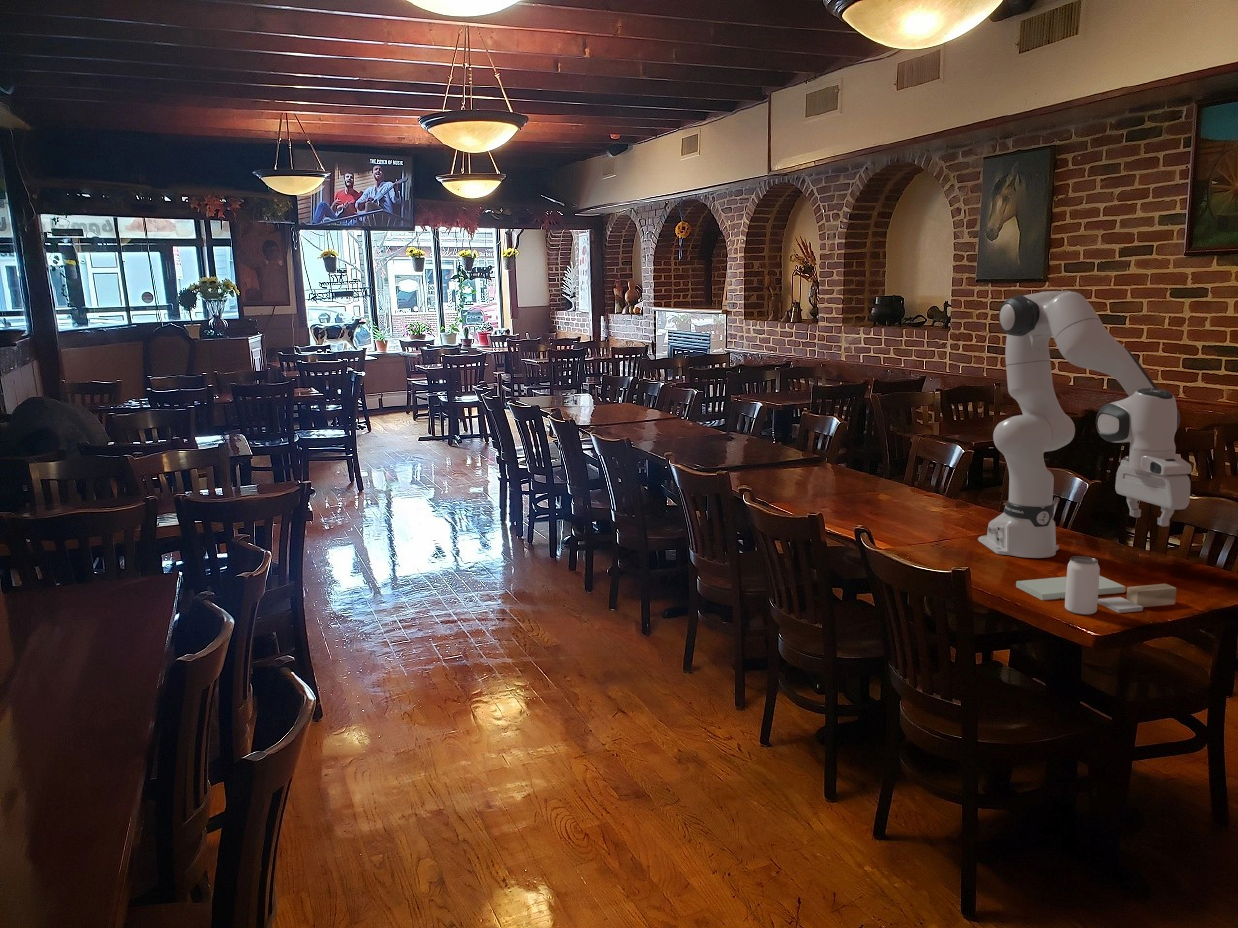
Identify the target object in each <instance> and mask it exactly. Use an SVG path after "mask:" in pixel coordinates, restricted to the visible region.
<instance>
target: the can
mask: <svg viewBox="0 0 1238 928" xmlns="http://www.w3.org/2000/svg"><path fill="white" fill-rule="evenodd" d="M1098 563H1099V560H1098V559H1096V558H1093V557H1090V556H1084V555H1083V556H1080V555H1077V556H1075V555H1074V556H1071V557H1069V562H1068V563H1067V569H1066V577H1067V580H1066V595H1065V598H1064V609H1065V610H1066V611H1067V612H1069V613H1072V614H1075V615H1080V616H1081V615H1082V616H1089V615H1094V614H1095V613H1097V611H1098V603H1097V602H1098V599H1099V595H1098V588H1099V575H1100V571H1101V568H1100V565H1099V564H1098Z"/></svg>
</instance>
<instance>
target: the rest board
mask: <svg viewBox="0 0 1238 928" xmlns="http://www.w3.org/2000/svg"><path fill="white" fill-rule="evenodd" d="M1066 580H1067V576H1060V577H1049V578H1037V579H1025V580H1024V579H1023V580H1016V581H1015V588H1017V589H1019V590H1021V591H1023V592H1025V593H1027V594H1028V595H1031V596H1033V597H1035V598H1037V599H1039V600H1041V601H1049V600H1058V599H1060V598H1061V599H1065V595H1066ZM1124 593H1126V586H1125V585H1122V584H1121V583H1118V582H1116V581H1114V580H1111V579H1109V578H1107V577H1104V576H1102V575H1100V574H1099V588H1098V596H1101V595H1112V594H1124ZM1061 599H1060V600H1061Z"/></svg>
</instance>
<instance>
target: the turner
mask: <svg viewBox="0 0 1238 928" xmlns="http://www.w3.org/2000/svg"><path fill="white" fill-rule="evenodd" d="M1126 588H1127V589H1126V598H1124V597H1121V596H1114V597H1105V598H1098V602H1097V604H1099V605H1101V606H1102V607H1105V608H1107V609H1110V610H1111V611H1113V612H1116V613H1117V614H1123V613H1132V612H1133V613H1134V612H1136V613H1137V612H1143V610H1144V608H1148V607H1149V608H1150V607H1160V606H1171V605H1176V598H1177V587H1175V586H1173V585H1170V584H1168V583H1159V584H1149V585H1148V584H1147V585H1136V586H1127V587H1126Z"/></svg>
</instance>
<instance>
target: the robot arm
mask: <svg viewBox="0 0 1238 928" xmlns="http://www.w3.org/2000/svg"><path fill="white" fill-rule="evenodd" d="M998 322H999V326H1000V327H1001V329H1002V331H1003V332H1004V333H1005V334H1006V338H1005V349H1004V350H1005V351H1004V353H1005V355H1004V357H1005V359H1004V360H1005V369H1006V370H1005V371H1006V382H1007V391H1008V395H1010V396H1011V398H1012V399H1014V400H1015V401H1016V402H1017V404H1018V406H1019V408H1020V411H1021V413H1022V414H1018V415H1014V416H1010V417H1008V418H1006V419H1004V420H1002V421H999V423H997V425H996V426H995V427H994V430H993V434H992V438H993V443H994V445H995V448H996V449H997V450H998V452H1000V453H1001V454H1002V456H1004V459H1005V462H1006V465H1007V470H1008V477H1009V480H1008V482H1009V483H1008V499H1007V500H1002V502H1003V504H1002V505H1003V506H1004V509H1003V512H1002V513H1001V514H999V515H998V516H996V517H995V518H993V519H991V520H990V521H989V522H988V524H987V525H988V526H987V534H985V535H981V536H979V537H978V538H977V541H978V542H979V543H981V544H982V545H984V546H985V547H986V548H987V549H989V550H991V551H992V552H994V553H995V554H997V555H1003V556H1004V555H1006V556H1014V557H1019V558H1027V559H1028V558H1031V559H1044V558H1051V557H1054V556H1055V555H1056V554H1057V551H1058V550H1059V549H1060V547H1059V545H1058V544H1057V538H1056V537H1057V534H1056V521H1055V520H1054V519H1053V517H1054V515H1055V514H1054V513H1055V505H1054V503H1053V501H1054V500H1053V499H1054V498H1053V497H1054V485H1055V483H1054V482H1055V481H1054V480H1055V478H1054V474H1053V473H1052V472H1051V470H1049V469H1048V468H1047V465H1046V462H1045V458H1044V453H1046V452H1053V451H1057V450H1059V449H1061V448H1063V447H1065V446H1067V445H1068V444H1070V443H1071V442H1072V441H1073V439H1074V438H1075V434H1076V427H1075V423H1074V421H1073V420H1072V418H1071V417H1070V416H1069V415H1068V414H1066V413H1065V411H1064V410H1063V408H1062V406H1061V405H1060V402H1059V400H1058V398H1057V395H1056V392H1055V388H1054V382H1053V374H1052V363H1051V355H1050V349H1049V348H1050V347H1049V344H1050V339H1051V338H1053V340H1054V342H1055V345H1056V347H1057V349H1058V351H1059V352H1060V354H1061V356H1062V357H1063V358H1064V360H1066V362H1068V363H1069V364H1071V365H1073V366H1075V367H1077V368H1082V369H1086V370H1092V371H1095V372H1099V373H1103V374H1105V375H1107V376H1109V377H1111V378H1113V379H1115V380H1116V381H1117V382H1118V383H1119V384H1120V386H1121V387H1122V389H1123V390H1124V392H1125V393H1126V394H1127V395H1128V397H1125V398H1123V399H1120V400H1116V401H1112V402H1110V403H1105V404H1104V405H1102V406H1101V408H1100V409H1099V410H1098V411H1097V414H1096V418H1095V428H1096V430H1097V433H1098V435H1099V436H1100V437H1101V438H1102V439H1103V440H1105V441H1106V442H1109V443H1114V444H1115V443H1116V444H1117V443H1119V444H1120V443H1129V455H1126V456H1124V457H1123V458H1122V459H1121V460H1120V465H1119V466H1118V468H1117V472H1116V477H1115V485H1114V487H1115V488H1114V489H1115V492H1116V494H1118V495H1121V496H1122V497H1123V496H1124V497H1126V504H1127V506H1128V509H1129V517H1133V518H1140V517H1141V516H1142V509H1140V507H1139V503H1138V502H1139V501H1140V502H1145V503H1149V504H1151V505H1155V506H1158V507H1160V512H1161V515H1160V517H1159V516H1158V517H1157V525H1158V526H1160V527H1169V526H1170V521H1171V518H1172V516H1173V515H1174V513H1175V510H1185V509H1187V508H1188V506H1189V504H1190V500H1191V479H1190V476H1188V475H1189V474H1191V473H1192V470H1193V469H1192V465H1191V464H1190V463H1189V462H1188V461H1186V460H1185V459H1184V458H1182V457H1181V456H1180V455H1178V454H1177V453H1176V451H1177V450H1176V449H1177V447H1176V442H1175V435H1176V432H1177V430H1178V428H1179V425H1180V423H1181V415H1180V411H1179V409H1178V407H1177V401H1176V398H1175V395H1174V393H1172V392H1171V391H1168V390H1165V389H1161V388H1159V387H1157V385H1156V384H1155V382H1154V381H1153V379H1152V377H1151V376H1150V375H1149V374H1148V372H1147V371H1146V369H1145V368H1144V367H1143V365H1142V364H1141V363H1140V361H1139V360H1138V359H1137V358H1136V356H1135V355H1134V354H1133V353H1132V352H1131V350H1129V349H1128V348H1127V347H1126V346H1124V345H1122V343H1120V342H1119V341H1118V340H1117V339H1116V338H1114V337H1113V336H1112V334H1111V333H1110V332H1109V331H1108V330H1107V328H1106V327H1105V325H1104V324H1103V322H1102V319H1100V317H1099V315H1098V313H1097V312H1096V310H1095V309H1094V307H1093V306H1092V305H1091V303H1090V302H1089V300H1087V299H1086V298H1085V296H1084V295H1083V294H1081V292H1077V291H1074V290H1065V289H1064V290H1062V291H1061V290H1060V291H1059V290H1055V291H1054V290H1052V291H1051V290H1049V291H1048V290H1047V291H1041V292H1035V293H1031V294H1030V293H1029V294H1025V295H1020V294H1019V295H1016V296H1012V297H1009V298H1007V299H1006V300H1004V302H1003V303H1002V304H1001V306H1000V308H999V311H998Z"/></svg>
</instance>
